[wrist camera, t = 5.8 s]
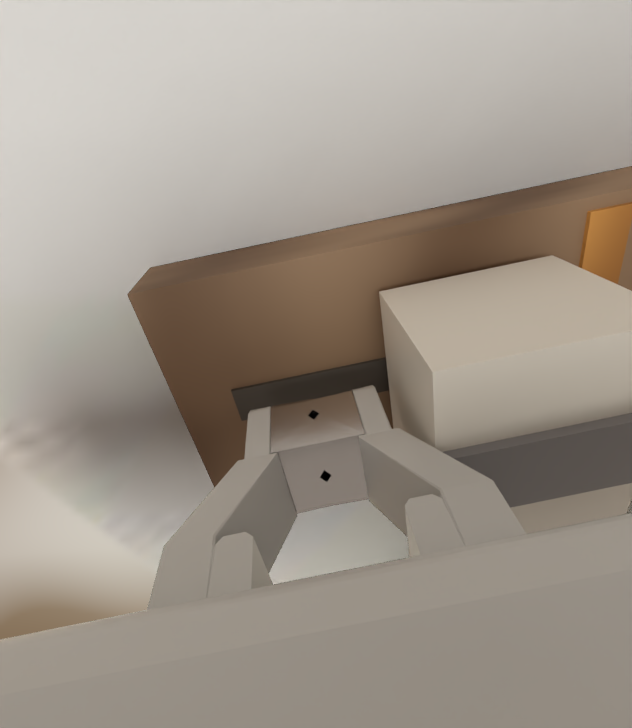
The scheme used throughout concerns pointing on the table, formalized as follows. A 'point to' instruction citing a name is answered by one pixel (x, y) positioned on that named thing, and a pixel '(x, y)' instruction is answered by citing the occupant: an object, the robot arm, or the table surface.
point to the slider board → (349, 298)
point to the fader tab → (520, 383)
